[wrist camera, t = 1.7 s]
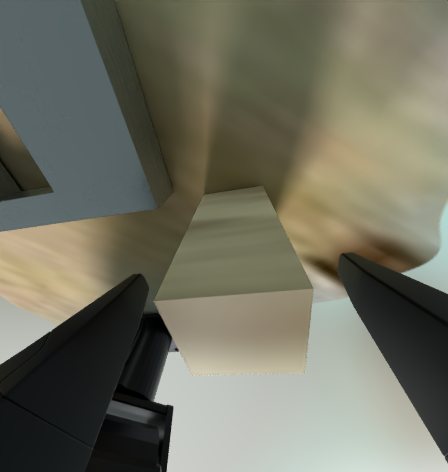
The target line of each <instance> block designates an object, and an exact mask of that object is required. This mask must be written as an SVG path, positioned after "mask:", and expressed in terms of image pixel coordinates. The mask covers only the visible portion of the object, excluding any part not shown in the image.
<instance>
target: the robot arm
mask: <svg viewBox="0 0 448 472" xmlns="http://www.w3.org/2000/svg"><path fill="white" fill-rule="evenodd" d="M338 274H339V276H340V278H341V281H342V283H343V285H344V287H345V289H346V291H347V294H348V296H349V298H350V300H351V302H352V304H353V306H354V308H355V309H356V311H357V313H358V315H359V316H360V318H361V320H362V321H363V323H364V324H365V326H366V328H367V330H368V331H369V333H370V334H371V336H372V338H373V339H374V341H375V343H376V345H377V346H378V348H379V350H380V351H381V353H382V354H383V356H384V358H385V359H386V361H387V363H388V364H389V366H390V368H391V369H392V371H393V373H394V374H395V376H396V378H397V379H398V381H399V383H400V384H401V386H402V387H403V389H404V391H405V393H406V394H407V396H408V397H409V399H410V401H411V403H412V404H413V406H414V407H415V409H416V411H417V412H418V414H419V416H420V417H421V419H422V421H423V422H424V424H425V426H426V427H427V429H428V431H429V432H430V434H431V436H432V437H433V439H434V441H435V442H436V444H437V446H438V447H439V449H440V451H441V452H442V454H443V455H444V456H445V459H446V461H447V463H448V294H446V293H444V292H442V291H439V290H437V289H435V288H433V287H430V286H428V285H426V284H423V283H421V282H419V281H417V280H414V279H412V278H410V277H407V276H405V275H403V274H401V273H398V272H396V271H394V270H392V269H389V268H387V267H385V266H382V265H380V264H378V263H375V262H373V261H371V260H369V259H366V258H364V257H362V256H359V255H357V254H355V253H352V252H348V253H342V254H340V257H339V262H338ZM148 292H149V286H148V284H147V282H146V280H145V278H144V276H143V275H142V274H133V275H131V276H130V277H128V278H127V279H125V280H124V281H123V282H121V283H120V284H118V285H117V286H115V287H114V288H112V289H111V290H110V291H108V292H107V293H105V294H104V295H102V296H101V297H99V298H98V299H96V300H95V301H94V302H92V303H91V304H89V305H88V306H86V307H85V308H83V309H82V310H81V311H79V312H78V313H76V314H75V315H73V316H72V317H70V318H69V319H67V320H66V321H65V322H63V323H62V324H60V325H59V326H57V327H56V328H55V329H53V330H52V331H51V332H49V333H47V334H46V335H44V336H43V337H41V338H40V339H38V340H37V341H35V342H34V343H32V344H31V345H30V346H28V347H27V348H25V349H24V350H22V351H21V352H19V353H18V354H16V355H14V356H13V357H11V358H10V359H8V360H7V361H5V362H4V363H2V364H1V365H0V472H166V471H167V462H168V453H169V443H170V434H171V425H172V416H173V406H171V405H162V404H159V403H156V402H154V399H155V395H156V392H157V389H158V385H159V382H160V378H161V375H162V372H163V368H164V365H165V361H166V358H167V355H168V352H179V350H178V348H177V346H176V344H175V342H174V340H173V338H172V336H171V334H170V332H169V330H168V329H167V327H166V325H165V323H164V321H163V319H162V317H161V315H160V314H149V315H142V314H143V311H144V307H145V303H146V299H147V295H148Z"/></svg>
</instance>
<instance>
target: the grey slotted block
mask: <svg viewBox="0 0 448 472" xmlns="http://www.w3.org/2000/svg"><path fill="white" fill-rule="evenodd" d="M0 107H1V109H2V110H3V112H4V114H5V115H6V117H7V118H8V120H9V121H10V123H11V125H12V126H13V128H14V129H15V131H16V132H17V134H18V136H19V137H20V139H21V140H22V142H23V144H24V145H25V147H26V148H27V150H28V151H29V153H30V155H31V156H32V158H33V159H34V161H35V162H36V164H37V166H38V167H39V169H40V170H41V172H42V173H43V175H44V177H45V178H46V180H47V181H48V183H49V184H50V187H44V188H39V189H33V190H27V191H21V190H20V188H19V187H18V186H17V184H16V183H15V181H14V180H13V179H12V177H11V176H10V175H9V173H8V172H7V170H6V169H5V168H4V166H3V165H2V164H1V162H0V232H1V231H8V230H15V229H22V228H29V227H36V226H42V225H49V224H56V223H63V222H70V221H77V220H83V219H90V218H97V217H104V216H111V215H117V214H124V213H131V212H138V211H145V210H152V209H158V208H159V206H160V205H161V204H162V203H163V202H164V201H165V200H166V199H167V198H168V197H169V196H170V195H171V194H172V193H173V189H172V186H171V183H170V180H169V177H168V173H167V170H166V167H165V164H164V160H163V157H162V154H161V151H160V147H159V144H158V141H157V138H156V135H155V131H154V128H153V125H152V122H151V118H150V115H149V112H148V109H147V105H146V102H145V99H144V96H143V93H142V89H141V86H140V83H139V80H138V76H137V73H136V70H135V67H134V63H133V60H132V57H131V54H130V51H129V47H128V44H127V41H126V38H125V34H124V31H123V28H122V25H121V22H120V18H119V15H118V12H117V9H116V5H115V2H114V0H0Z"/></svg>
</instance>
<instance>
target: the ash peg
mask: <svg viewBox="0 0 448 472" xmlns="http://www.w3.org/2000/svg"><path fill="white" fill-rule="evenodd" d="M312 299H313V287H312V285H311V282H310V280H309V278H308V276H307V274H306V272H305V270H304V268H303V266H302V264H301V262H300V260H299V258H298V256H297V254H296V252H295V250H294V248H293V246H292V244H291V242H290V240H289V238H288V236H287V234H286V232H285V230H284V228H283V226H282V224H281V222H280V220H279V218H278V216H277V214H276V212H275V210H274V208H273V206H272V204H271V201H270V199H269V197H268V195H267V193H266V191H265V189H264V187H263V186H258V187H251V188H244V189H238V190H231V191H225V192H218V193H211V194H205V195H203V197H202V199H201V201H200V203H199V205H198V207H197V210H196V212H195V214H194V216H193V218H192V220H191V222H190V225H189V227H188V229H187V231H186V233H185V235H184V237H183V239H182V242H181V244H180V246H179V248H178V250H177V252H176V254H175V256H174V259H173V261H172V263H171V265H170V267H169V269H168V271H167V273H166V276H165V278H164V280H163V282H162V284H161V286H160V288H159V290H158V293H157V295H156V297H155V299H154V301H153V302H154V303H155V305H156V307H157V309H158V311H159V313H160V315H161V317H162V319H163V321H164V323H165V325H166V327H167V329H168V330H169V332H170V334H171V336H172V338H173V340H174V342H175V344H176V346H177V348H178V350H179V352H180V354H181V356H182V357H183V359H184V361H185V363H186V365H187V367H188V369H189V371H190V373H191V375H192V376H193V375H234V374H271V373H273V374H274V373H305V367H306V358H307V348H308V338H309V328H310V318H311V308H312Z"/></svg>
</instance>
